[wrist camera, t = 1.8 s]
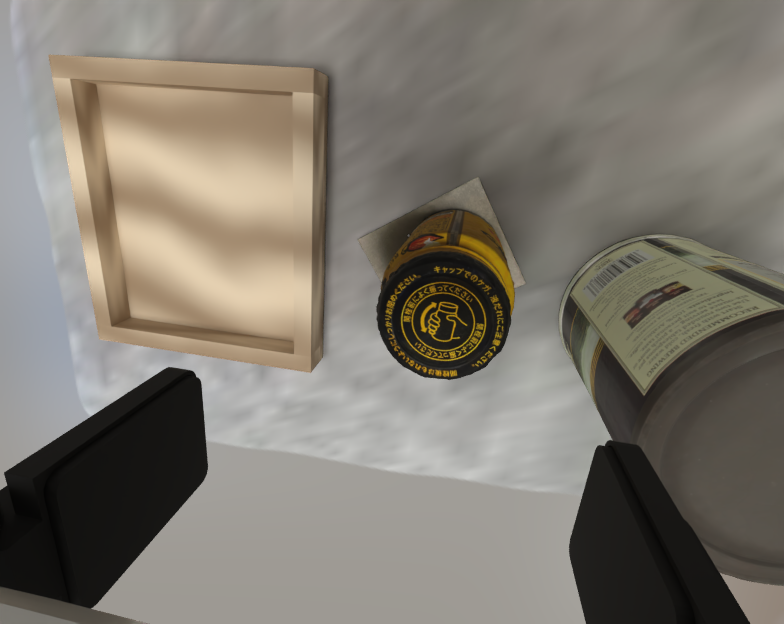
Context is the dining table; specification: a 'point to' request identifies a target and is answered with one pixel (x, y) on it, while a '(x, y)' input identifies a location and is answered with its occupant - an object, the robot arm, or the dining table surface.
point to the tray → (200, 203)
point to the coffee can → (692, 384)
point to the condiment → (445, 284)
